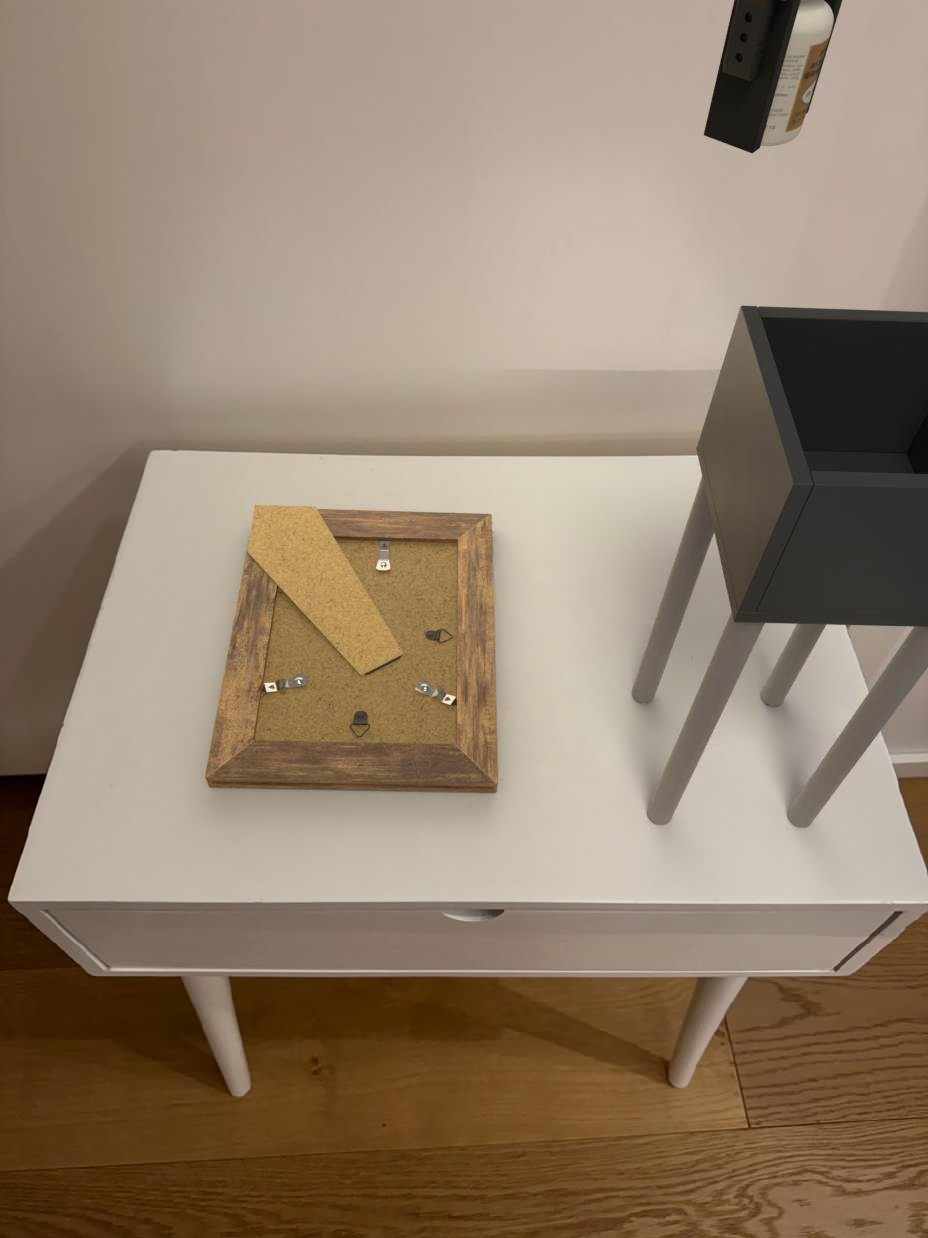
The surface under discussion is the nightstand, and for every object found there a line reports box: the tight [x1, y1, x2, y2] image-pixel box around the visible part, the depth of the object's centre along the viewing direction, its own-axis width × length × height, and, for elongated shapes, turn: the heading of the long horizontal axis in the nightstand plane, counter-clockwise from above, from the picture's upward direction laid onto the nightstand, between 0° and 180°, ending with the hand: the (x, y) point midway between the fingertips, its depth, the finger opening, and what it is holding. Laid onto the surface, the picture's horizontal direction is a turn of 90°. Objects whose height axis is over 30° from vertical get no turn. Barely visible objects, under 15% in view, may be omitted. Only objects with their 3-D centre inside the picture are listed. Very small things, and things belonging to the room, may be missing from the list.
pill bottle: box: [760, 0, 834, 147], centre depth 45 cm, size 4×4×8 cm
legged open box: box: [631, 305, 928, 829], centre depth 52 cm, size 12×12×31 cm
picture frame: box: [204, 504, 499, 794], centre depth 68 cm, size 19×2×24 cm
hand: (757, 122), depth 48 cm, fingers closed on pill bottle, 4 cm apart
